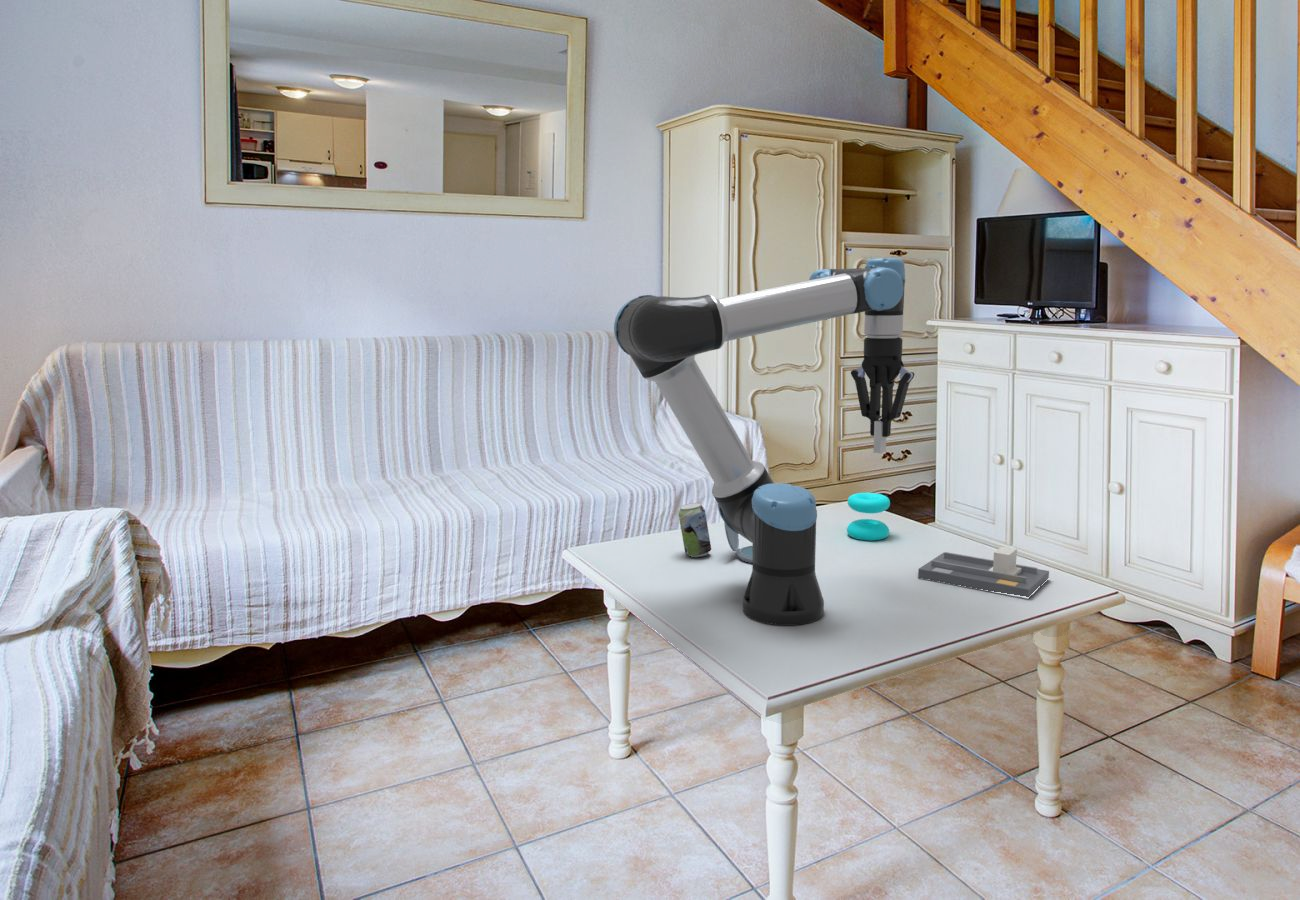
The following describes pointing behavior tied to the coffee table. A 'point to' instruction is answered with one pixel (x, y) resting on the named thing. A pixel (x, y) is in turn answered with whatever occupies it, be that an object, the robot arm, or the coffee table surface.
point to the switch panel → (982, 574)
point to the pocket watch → (733, 541)
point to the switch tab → (1005, 561)
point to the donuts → (868, 527)
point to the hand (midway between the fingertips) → (879, 451)
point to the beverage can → (694, 530)
